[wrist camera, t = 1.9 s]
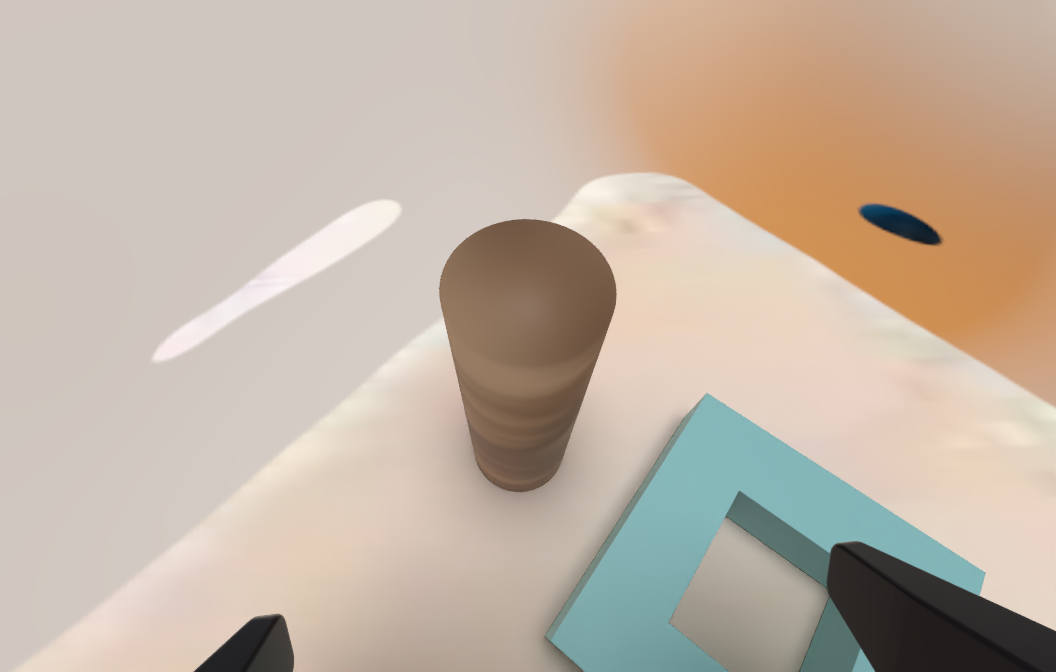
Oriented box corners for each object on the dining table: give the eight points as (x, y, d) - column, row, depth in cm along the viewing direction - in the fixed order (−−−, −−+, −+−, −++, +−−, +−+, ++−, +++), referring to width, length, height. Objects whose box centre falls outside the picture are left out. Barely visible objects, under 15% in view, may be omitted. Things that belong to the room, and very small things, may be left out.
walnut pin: (503, 510, 21) (497, 399, 10) (458, 432, 22) (409, 262, 11) (580, 460, 22) (652, 311, 11) (532, 389, 23) (552, 197, 12)
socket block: (824, 884, 15) (888, 941, 13) (544, 636, 18) (550, 640, 16) (922, 577, 20) (985, 572, 17) (684, 417, 23) (707, 392, 20)
